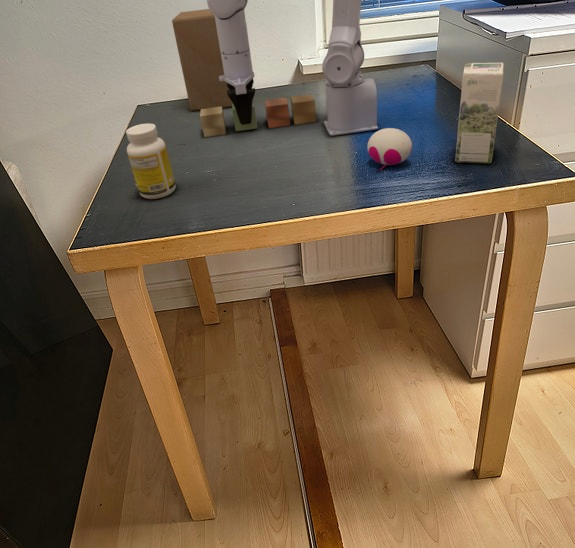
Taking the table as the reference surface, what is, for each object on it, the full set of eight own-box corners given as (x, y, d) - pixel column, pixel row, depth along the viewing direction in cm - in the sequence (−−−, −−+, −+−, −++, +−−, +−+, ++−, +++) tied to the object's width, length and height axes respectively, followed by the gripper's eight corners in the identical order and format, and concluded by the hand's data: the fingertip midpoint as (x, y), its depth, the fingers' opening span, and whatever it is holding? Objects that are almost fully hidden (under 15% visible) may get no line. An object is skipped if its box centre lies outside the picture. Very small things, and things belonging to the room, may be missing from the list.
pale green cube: (256, 121, 111) (253, 100, 109) (257, 128, 108) (254, 106, 105) (235, 124, 111) (231, 103, 108) (235, 131, 107) (232, 109, 105)
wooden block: (232, 107, 122) (216, 14, 111) (190, 111, 123) (171, 19, 111) (236, 95, 130) (222, 7, 119) (197, 99, 131) (179, 11, 119)
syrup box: (492, 150, 87) (504, 60, 79) (491, 165, 83) (504, 71, 74) (457, 149, 89) (465, 61, 81) (454, 163, 85) (462, 71, 76)
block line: (313, 115, 112) (311, 93, 109) (316, 121, 108) (314, 100, 105) (204, 130, 111) (200, 109, 109) (204, 137, 107) (200, 115, 105)
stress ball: (365, 181, 90) (352, 159, 85) (382, 142, 92) (370, 119, 86) (405, 187, 86) (394, 165, 81) (422, 147, 88) (413, 122, 82)
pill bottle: (161, 181, 91) (144, 119, 85) (183, 188, 88) (168, 124, 81) (132, 195, 88) (113, 132, 81) (155, 203, 84) (136, 138, 78)
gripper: (215, 46, 107) (226, 111, 114) (214, 62, 95) (227, 134, 102) (249, 41, 107) (258, 107, 115) (252, 57, 95) (262, 129, 103)
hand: (245, 119), depth 109 cm, fingers closed on pale green cube, 4 cm apart
